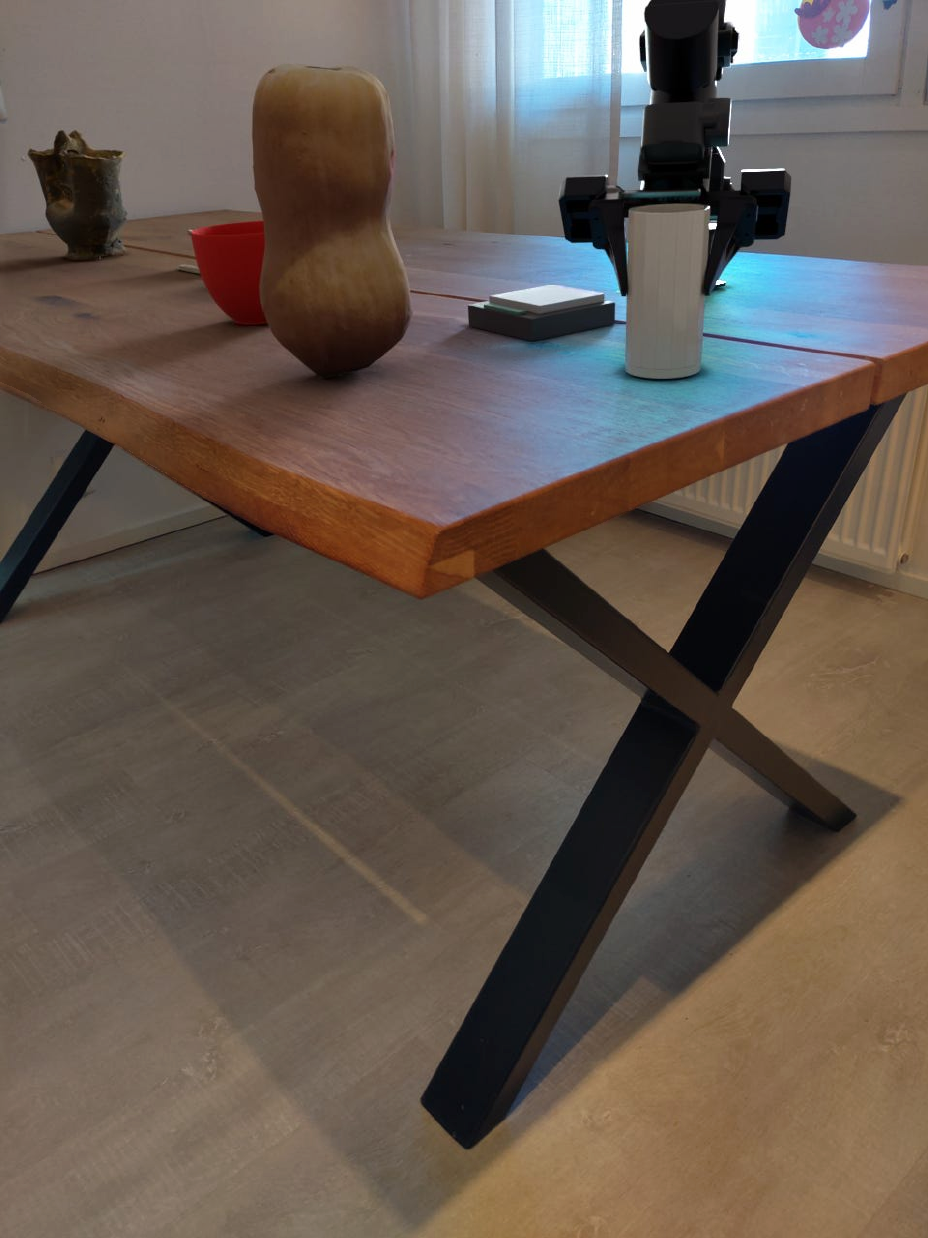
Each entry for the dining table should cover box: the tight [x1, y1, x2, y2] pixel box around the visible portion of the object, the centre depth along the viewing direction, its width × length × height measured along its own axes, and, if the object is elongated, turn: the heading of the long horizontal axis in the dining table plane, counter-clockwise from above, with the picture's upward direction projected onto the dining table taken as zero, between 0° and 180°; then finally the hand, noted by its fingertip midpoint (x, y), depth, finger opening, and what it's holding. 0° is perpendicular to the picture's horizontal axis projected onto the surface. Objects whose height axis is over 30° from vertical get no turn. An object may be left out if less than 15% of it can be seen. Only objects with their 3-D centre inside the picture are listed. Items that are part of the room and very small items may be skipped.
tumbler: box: [624, 203, 710, 380], centre depth 84 cm, size 6×6×13 cm
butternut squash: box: [251, 63, 413, 379], centre depth 87 cm, size 14×13×25 cm
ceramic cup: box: [190, 220, 268, 326], centre depth 116 cm, size 13×17×10 cm
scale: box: [467, 284, 616, 342], centre depth 106 cm, size 11×11×3 cm
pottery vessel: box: [27, 129, 128, 261], centre depth 170 cm, size 25×11×20 cm, turn 40°
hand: (664, 293), depth 83 cm, fingers closed on tumbler, 6 cm apart
